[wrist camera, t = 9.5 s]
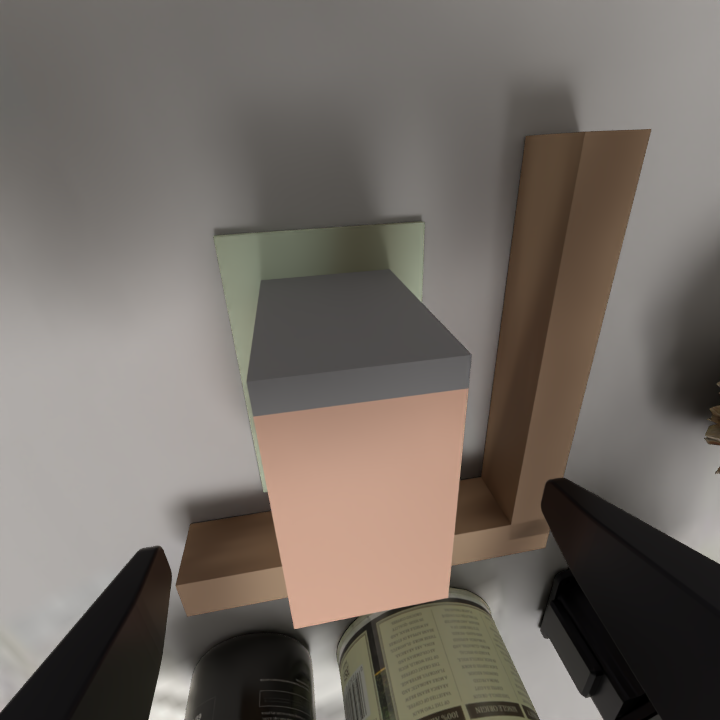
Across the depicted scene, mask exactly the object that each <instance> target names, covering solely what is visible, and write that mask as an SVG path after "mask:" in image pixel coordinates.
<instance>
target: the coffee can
mask: <svg viewBox="0 0 720 720" xmlns="http://www.w3.org/2000/svg"><path fill="white" fill-rule="evenodd" d="M337 662H338V666H339V671H340V677H341V685H342V693H343V701H344V710H345V718H346V720H540V719H539V717H538V715H537V713H536V711H535V708H534V706H533V704H532V702H531V700H530V698H529V696H528V694H527V691H526V689H525V687H524V685H523V683H522V681H521V679H520V676H519V674H518V672H517V670H516V668H515V666H514V664H513V662H512V659H511V657H510V655H509V653H508V651H507V649H506V647H505V644H504V642H503V640H502V638H501V636H500V634H499V632H498V630H497V627H496V625H495V622H494V620H493V618H492V615H491V612H490V609H489V607H488V605H487V604H486V603H485V602H484V601H483V600H482V599H481V598H480V597H478V596H477V595H475V594H474V593H471V592H469V591H467V590H463V589H456V588H451V587H449V594H448V598H445V599H440V600H435V601H430V602H425V603H420V604H415V605H410V606H405V607H401V608H396V609H391V610H386V611H381V612H376V613H371V614H366V615H362V616H360V617H358V618H357V619H356V620H355V621H354V622H353V623H352V624H351V625H350V627H349V628H348V629H347V631H346V632H345V633H344V635H343V636H342V638H341V640H340V643H339V646H338V650H337Z"/></svg>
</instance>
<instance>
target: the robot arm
mask: <svg viewBox="0 0 720 720" xmlns="http://www.w3.org/2000/svg"><path fill="white" fill-rule="evenodd" d="M541 510H542V513H543V515H544V517H545V520H546V522H547V524H548V526H549V528H550V530H551V532H552V534H553V536H554V538H555V540H556V542H557V544H558V546H559V548H560V550H561V552H562V554H563V556H564V558H565V560H566V562H567V564H568V566H569V568H570V570H567V571H562V572H560V573H558V574H557V575H556V577H555V580H554V583H553V587H552V590H551V594H550V597H549V601H548V604H547V608H546V611H545V615H544V618H543V622H542V625H541V629H540V631H541V633H542V635H543V637H544V638H546V639H548V638H549V639H550V640H551V642H552V644H553V646H554V648H555V649H556V651H557V653H558V655H559V657H560V658H561V660H562V662H563V664H564V666H565V667H566V669H567V671H568V673H569V675H570V676H571V678H572V680H573V682H574V683H575V685H576V687H577V689H578V691H579V692H580V694H581V695H583V696H584V697H585V698H588V697H591V699H592V700H593V702H594V704H595V706H596V707H597V709H598V711H599V713H600V714H601V716H602V718H603V720H720V564H718V563H717V562H715V561H713V560H711V559H709V558H708V557H706V556H704V555H702V554H700V553H699V552H697V551H695V550H693V549H692V548H690V547H688V546H686V545H684V544H683V543H681V542H679V541H677V540H675V539H674V538H672V537H670V536H668V535H666V534H665V533H663V532H661V531H659V530H657V529H656V528H654V527H652V526H650V525H648V524H647V523H645V522H643V521H641V520H640V519H638V518H636V517H634V516H632V515H631V514H629V513H627V512H625V511H623V510H622V509H620V508H618V507H616V506H614V505H613V504H611V503H609V502H607V501H605V500H604V499H602V498H600V497H598V496H596V495H595V494H593V493H591V492H589V491H588V490H586V489H584V488H582V487H580V486H579V485H577V484H575V483H573V482H571V481H570V480H568V479H566V478H555V479H549V480H547V482H546V483H545V487H544V491H543V496H542V500H541ZM171 581H172V573H171V569H170V566H169V563H168V561H167V558H166V556H165V553H164V550H163V549H162V547H161V546H153V547H147V548H142V549H140V550H139V551H138V552H137V553H136V554H135V555H134V556H133V557H132V558H131V560H130V561H129V562H128V563H127V564H126V566H125V567H124V568H123V569H122V570H121V571H120V573H119V574H118V575H117V576H116V577H115V578H114V580H113V581H112V582H111V583H110V584H109V586H108V587H107V588H106V589H105V590H104V591H103V593H102V594H101V595H100V596H99V597H98V598H97V600H96V601H95V602H94V603H93V604H92V605H91V607H90V608H89V609H88V610H87V611H86V613H85V614H84V615H83V616H82V617H81V618H80V620H79V621H78V622H77V623H76V624H75V625H74V627H73V628H72V629H71V630H70V631H69V633H68V634H67V635H66V636H65V637H64V638H63V640H62V641H61V642H60V643H59V644H58V645H57V647H56V648H55V649H54V650H53V651H52V652H51V654H50V655H49V656H48V657H47V658H46V660H45V661H44V662H43V663H42V664H41V665H40V667H39V668H38V669H37V670H36V671H35V672H34V674H33V675H32V676H31V677H30V678H29V680H28V681H27V682H26V683H25V684H24V685H23V687H22V688H21V689H20V690H19V691H18V692H17V694H16V695H15V696H14V697H13V698H12V700H11V701H10V702H9V703H8V704H7V705H6V707H5V708H4V709H3V710H2V711H1V712H0V720H148V719H149V714H150V710H151V706H152V701H153V697H154V692H155V688H156V684H157V679H158V675H159V670H160V665H161V660H162V654H163V647H164V639H165V631H166V623H167V615H168V606H169V598H170V590H171Z"/></svg>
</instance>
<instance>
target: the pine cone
mask: <svg viewBox="0 0 720 720" xmlns="http://www.w3.org/2000/svg"><path fill="white" fill-rule="evenodd" d="M717 385H718V386H719V387H720V382H718V383H717ZM718 394H719V395H720V393H718ZM710 411H711V413H712V414H713V415H712V417H711V418H709V419H707V420H709V421H712V422H714V423H716V424H715V425H712V426H709V428H708V430H707V432H706V434H705V436H707V437H706V438H704V439H705V440H706V441H707V443H708V444H712V445H720V406H715V407H712V408H710ZM715 474H720V467H719V468H718V470H717V471H716V472H715Z"/></svg>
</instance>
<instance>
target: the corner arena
mask: <svg viewBox="0 0 720 720" xmlns="http://www.w3.org/2000/svg"><path fill="white" fill-rule="evenodd" d="M650 133H651V129H642V130H617V131H591V132H574V133H560V134H546V135H531V136H526V138H525V146H524V153H523V161H522V168H521V176H520V184H519V191H518V199H517V207H516V214H515V222H514V230H513V237H512V245H511V252H510V260H509V268H508V275H507V283H506V291H505V298H504V306H503V313H502V321H501V329H500V336H499V344H498V352H497V359H496V367H495V374H494V382H493V390H492V397H491V405H490V413H489V420H488V428H487V436H486V443H485V451H484V458H483V466H482V474H481V477H478V478H472V479H466V480H460V481H459V491H458V501H457V512H456V522H455V532H454V543H453V553H452V563H451V566H453V565H459V564H464V563H469V562H474V561H479V560H485V559H490V558H495V557H500V556H505V555H511V554H516V553H521V552H526V551H531V550H537V549H542V548H545V547H546V543H547V539H548V535H549V531H550V528H549V526H548V524H547V522H546V520H545V517H544V515H543V513H542V510H541V500H542V496H543V491H544V487H545V483H546V482H547V480H549V479H555V478H563V476H564V472H565V468H566V464H567V460H568V456H569V452H570V448H571V445H572V441H573V437H574V433H575V429H576V425H577V421H578V417H579V413H580V409H581V405H582V401H583V397H584V393H585V389H586V385H587V381H588V377H589V374H590V370H591V366H592V362H593V358H594V354H595V350H596V346H597V342H598V338H599V334H600V330H601V326H602V322H603V318H604V314H605V310H606V306H607V303H608V299H609V295H610V291H611V287H612V283H613V279H614V275H615V271H616V267H617V263H618V259H619V255H620V251H621V247H622V243H623V239H624V235H625V231H626V228H627V224H628V220H629V216H630V212H631V208H632V204H633V200H634V196H635V192H636V188H637V184H638V180H639V176H640V172H641V168H642V164H643V160H644V157H645V153H646V149H647V145H648V141H649V137H650ZM424 229H425V222H422V221H419V222H404V223H390V224H375V225H360V226H345V227H331V228H316V229H301V230H287V231H272V232H257V233H243V234H228V235H215V236H214V237H213V238H214V243H215V248H216V253H217V258H218V264H219V269H220V274H221V279H222V284H223V289H224V294H225V299H226V304H227V309H228V314H229V319H230V324H231V329H232V335H233V340H234V345H235V350H236V355H237V360H238V365H239V370H240V375H241V380H242V385H243V390H244V395H245V400H246V406H247V411H248V416H249V421H250V426H251V431H252V436H253V441H254V446H255V451H256V456H257V461H258V466H259V471H260V477H261V482H262V487H263V492H268V491H267V486H266V481H265V475H264V470H263V465H262V460H261V455H260V450H259V444H258V439H257V434H256V429H255V424H254V419H253V413H252V408H251V403H250V398H249V393H248V388H247V382H246V381H247V374H248V367H249V360H250V353H251V346H252V339H253V332H254V325H255V317H256V310H257V303H258V296H259V289H260V282H261V280H270V279H281V278H293V277H305V276H316V275H328V274H339V273H351V272H363V271H374V270H386V269H390V270H391V271H392V272H393V273H394V274H395V275H396V276H397V277H398V278H399V279H400V280H401V281H402V283H403V284H404V285H405V286H406V287H407V288H408V289H409V290H410V291H411V292H412V293H413V294H414V295H415V296H416V297H417V298H418V299H419V300H420V301H421V302H422V287H423V258H424ZM176 588H177V591H178V594H179V596H180V599H181V601H182V604H183V607H184V609H185V612H186V614H187V617H188V616H193V615H198V614H203V613H209V612H214V611H219V610H224V609H230V608H235V607H240V606H245V605H250V604H256V603H261V602H266V601H271V600H276V599H282V598H287V597H288V594H287V589H286V584H285V579H284V573H283V568H282V563H281V558H280V553H279V548H278V542H277V537H276V532H275V527H274V522H273V517H272V511H268V512H262V513H256V514H250V515H243V516H237V517H231V518H225V519H219V520H213V521H206V522H200V523H194V524H190V527H189V531H188V536H187V540H186V544H185V548H184V552H183V556H182V561H181V565H180V569H179V573H178V577H177V582H176Z"/></svg>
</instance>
